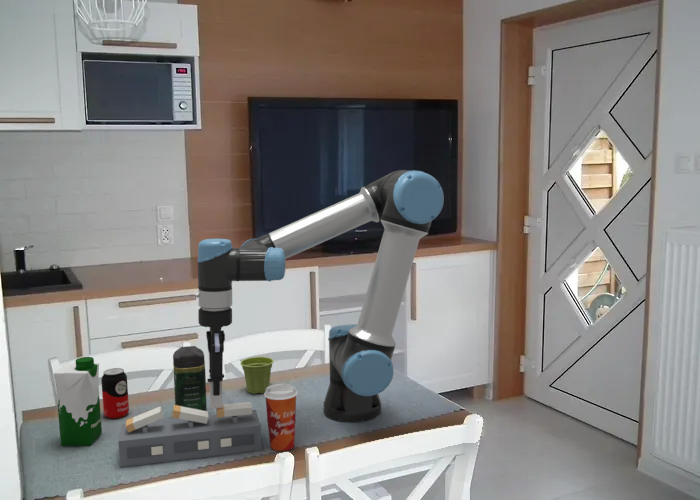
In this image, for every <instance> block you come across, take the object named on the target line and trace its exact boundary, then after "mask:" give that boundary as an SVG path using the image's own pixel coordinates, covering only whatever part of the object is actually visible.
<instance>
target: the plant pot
mask: <svg viewBox="0 0 700 500" xmlns="http://www.w3.org/2000/svg"><path fill="white" fill-rule="evenodd" d="M274 362H275V360H274V359H273V358H271V357H267V356H255V357H253V356H252V357H248V358H244V359H243V360H241V361H240V362H239V363H240V366H241V367H242V371H243V373H244V379H245V383H246V390H247V392H248V393H250V394H253V395H255V394H264V393H265V391H266V388H267V387H268V386H270V382H271V371H272V368H273V363H274Z"/></svg>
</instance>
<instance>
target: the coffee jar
mask: <svg viewBox="0 0 700 500" xmlns="http://www.w3.org/2000/svg"><path fill="white" fill-rule="evenodd" d="M172 359H173V361H172V362H173V363H172V364H173V388H174V405H178V406H182V407H187V408H192V409H197V410H203V411H208V409H207V381H206V380H207V378H206V365H205V364H206V361H205V354H204V350H202V349H201V348H199V347H197V346H196V345H190V346H180V347H179V348H178V349H176V350H175V351H174V352H173V355H172Z"/></svg>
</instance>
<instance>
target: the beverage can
mask: <svg viewBox="0 0 700 500" xmlns="http://www.w3.org/2000/svg"><path fill="white" fill-rule="evenodd" d="M102 373H103V375H102V377H101V379H100V381H101V390H102V391H101V392H102V393H101V394H102V397H101V398H102V406H103V410H102V411H103V415H104V416H105V417H106V418H108V419H116V420H117V419H120V418H123V417H125V416H126V415H127V414H128V413H129V411H130V406H129V405H130V404H129V390H128V375H127V374H126V372H125V369H124V368H120V367H115V368H108V369H105V370H103V372H102Z"/></svg>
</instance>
